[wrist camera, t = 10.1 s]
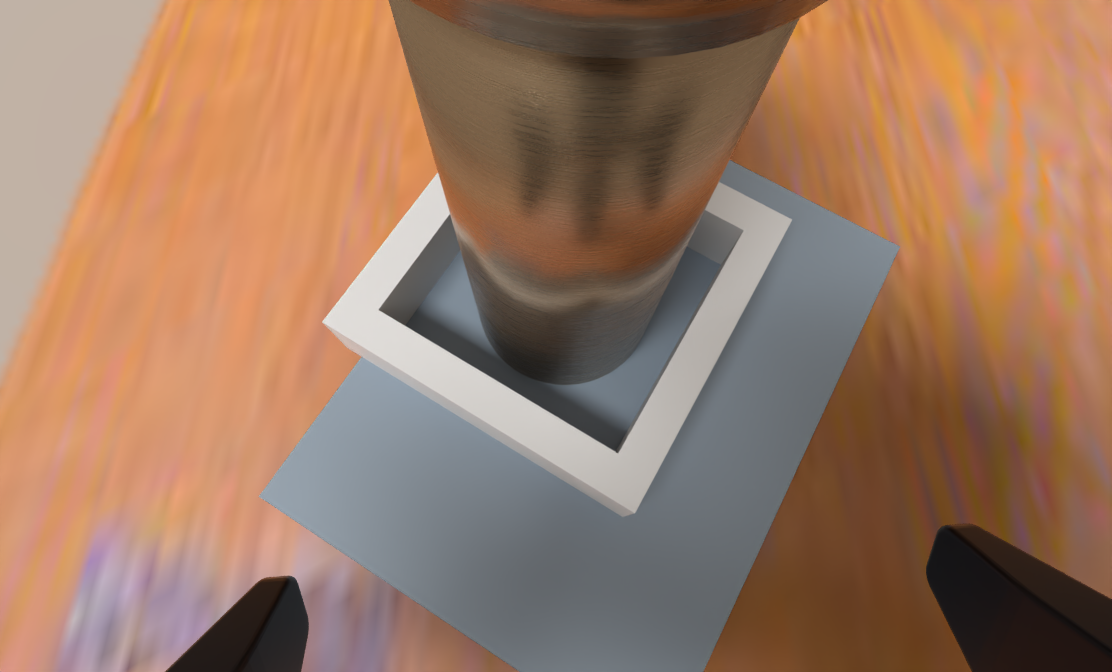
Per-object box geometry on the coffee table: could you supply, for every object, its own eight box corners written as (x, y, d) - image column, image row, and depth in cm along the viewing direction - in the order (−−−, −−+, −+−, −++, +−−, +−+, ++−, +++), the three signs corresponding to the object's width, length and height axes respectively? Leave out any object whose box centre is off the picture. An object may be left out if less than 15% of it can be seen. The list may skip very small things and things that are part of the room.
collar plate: (652, 752, 16) (680, 802, 13) (260, 489, 17) (201, 478, 14) (883, 260, 20) (943, 210, 17) (554, 91, 22) (556, 19, 19)
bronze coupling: (657, 408, 17) (1032, -16, 4) (452, 388, 17) (159, -94, 4) (665, 224, 19) (944, -487, 6) (479, 207, 19) (336, -538, 6)
